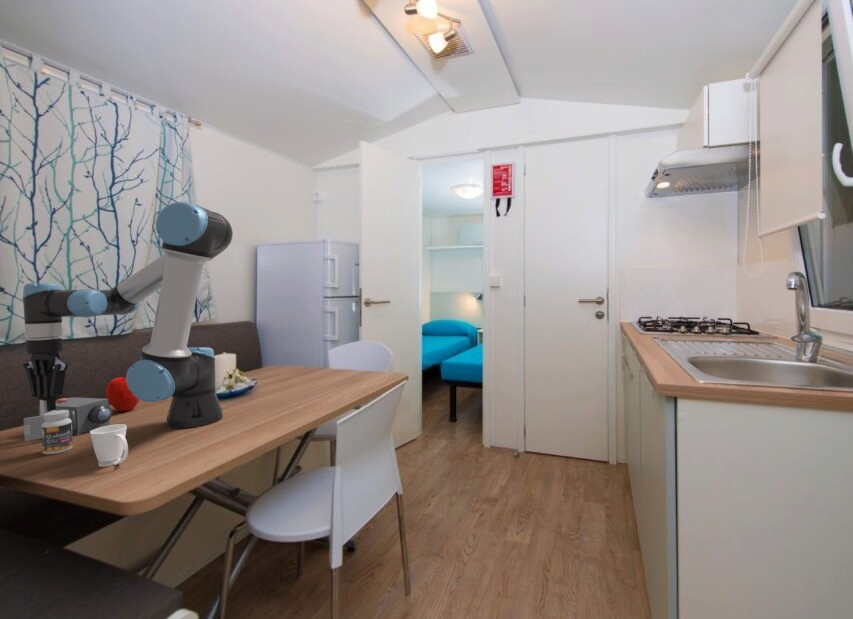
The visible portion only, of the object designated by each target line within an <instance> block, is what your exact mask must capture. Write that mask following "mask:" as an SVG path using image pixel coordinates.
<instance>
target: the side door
mask: <svg viewBox="0 0 853 619" xmlns="http://www.w3.org/2000/svg"><path fill="white" fill-rule="evenodd" d="M68 418H69V419H71V421H72V434H74V433H76V428H75V410H72V411H70V412H69V416H68ZM44 422H45V420H44V415H43V416H39V415H37V416H30V417H23V433H24V435H23V436H24V442H30V441H33V440H40V439H41V440H42V433H41V426H42V424H43V423H44Z"/></svg>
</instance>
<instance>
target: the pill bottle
mask: <svg viewBox="0 0 853 619" xmlns="http://www.w3.org/2000/svg"><path fill="white" fill-rule="evenodd" d="M68 416H69V411H68V410H57V411H52V412H48V413H45V414H44V420H45V422H44V423H43V424H42V426H41V433H42V438H41V448H42V449H41V451H42V452H41V453H42V454H44V455H56V454H61V453H64V452H67V451H69V450H71V449H72V448H73V447H74V445H73V444H74V442H73V441H74V440H73V439H74V438H73V435H72V421H71V419H69V418H68Z"/></svg>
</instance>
